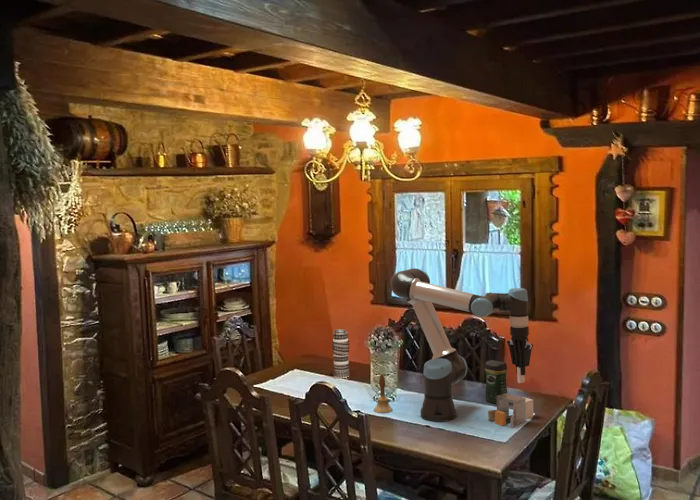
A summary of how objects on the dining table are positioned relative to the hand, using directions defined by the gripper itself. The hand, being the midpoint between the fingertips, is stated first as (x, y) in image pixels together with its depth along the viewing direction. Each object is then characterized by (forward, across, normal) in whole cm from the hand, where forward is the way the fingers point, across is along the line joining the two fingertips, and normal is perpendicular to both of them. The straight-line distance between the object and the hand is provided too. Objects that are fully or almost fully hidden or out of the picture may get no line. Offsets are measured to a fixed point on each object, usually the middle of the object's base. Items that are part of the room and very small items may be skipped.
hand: (521, 382), depth 277 cm
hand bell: (+14, +42, +42) cm, 61 cm away
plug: (+15, +1, +4) cm, 16 cm away
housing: (+15, 0, +8) cm, 17 cm away
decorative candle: (+13, +102, +29) cm, 107 cm away
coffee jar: (+15, +24, -7) cm, 29 cm away
